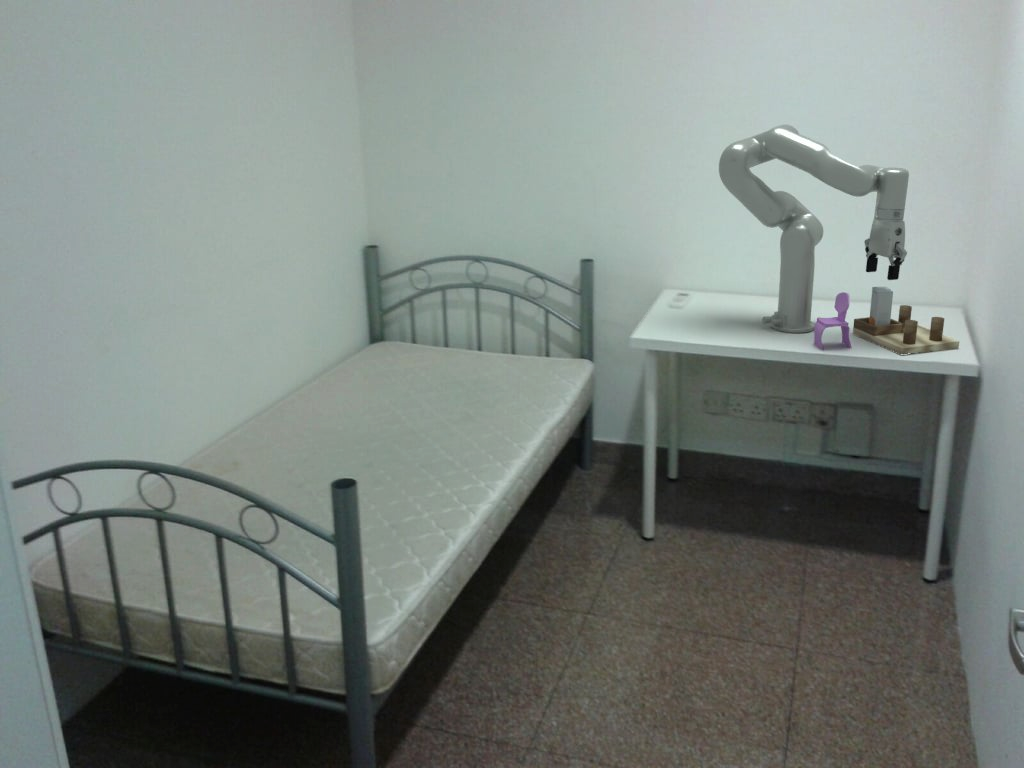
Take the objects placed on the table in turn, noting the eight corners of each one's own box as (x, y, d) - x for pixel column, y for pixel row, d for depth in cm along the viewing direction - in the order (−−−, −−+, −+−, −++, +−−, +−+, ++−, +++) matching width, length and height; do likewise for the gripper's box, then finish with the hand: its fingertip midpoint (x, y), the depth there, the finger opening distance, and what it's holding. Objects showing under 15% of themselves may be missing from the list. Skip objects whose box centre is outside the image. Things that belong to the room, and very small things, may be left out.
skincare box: (868, 327, 279) (871, 286, 275) (883, 327, 279) (887, 286, 275) (874, 333, 274) (878, 291, 270) (889, 333, 273) (894, 291, 269)
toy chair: (811, 342, 274) (815, 290, 269) (841, 341, 274) (846, 289, 269) (822, 351, 266) (826, 297, 261) (853, 349, 267) (858, 296, 262)
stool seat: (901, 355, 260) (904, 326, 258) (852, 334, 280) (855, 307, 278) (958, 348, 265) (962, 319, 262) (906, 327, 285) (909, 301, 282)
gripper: (921, 218, 259) (913, 281, 265) (881, 208, 275) (874, 268, 281) (897, 220, 257) (889, 283, 263) (858, 209, 273) (851, 269, 279)
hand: (881, 275), depth 272 cm, fingers open, 9 cm apart
